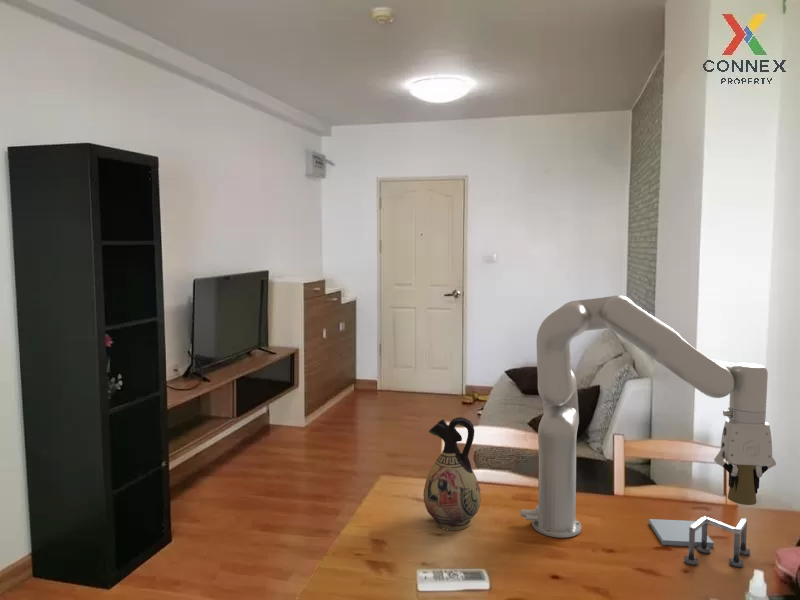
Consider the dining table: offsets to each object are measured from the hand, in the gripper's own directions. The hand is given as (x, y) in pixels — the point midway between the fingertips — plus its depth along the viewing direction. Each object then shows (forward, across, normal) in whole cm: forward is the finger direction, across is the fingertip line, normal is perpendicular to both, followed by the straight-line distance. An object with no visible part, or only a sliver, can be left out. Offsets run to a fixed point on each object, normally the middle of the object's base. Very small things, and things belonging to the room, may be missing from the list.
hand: (743, 490), depth 144 cm
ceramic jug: (+17, -69, +10) cm, 72 cm away
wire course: (+16, -6, -2) cm, 17 cm away
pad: (+16, -11, +9) cm, 21 cm away
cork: (+3, 0, 0) cm, 3 cm away
